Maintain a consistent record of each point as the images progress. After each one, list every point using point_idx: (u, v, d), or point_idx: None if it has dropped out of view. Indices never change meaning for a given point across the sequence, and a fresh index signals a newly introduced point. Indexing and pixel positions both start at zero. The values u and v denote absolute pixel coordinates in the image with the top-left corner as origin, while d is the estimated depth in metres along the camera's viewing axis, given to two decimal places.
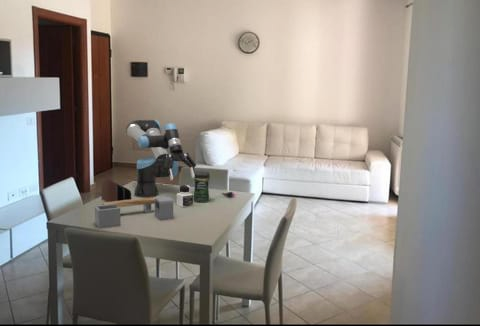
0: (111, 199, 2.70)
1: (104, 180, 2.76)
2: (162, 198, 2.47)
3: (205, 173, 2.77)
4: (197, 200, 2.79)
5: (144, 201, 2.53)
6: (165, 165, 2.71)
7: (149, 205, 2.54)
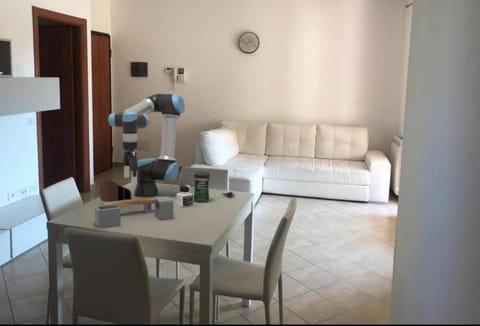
0: (111, 199, 2.70)
1: (103, 180, 2.75)
2: (162, 198, 2.47)
3: (205, 173, 2.77)
4: (197, 200, 2.79)
5: (144, 201, 2.53)
6: (123, 161, 2.55)
7: (149, 205, 2.54)
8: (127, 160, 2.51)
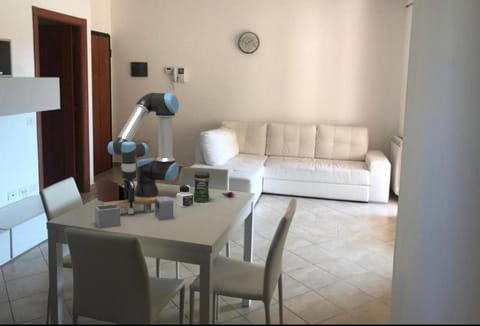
0: (111, 199, 2.70)
1: (101, 181, 2.74)
2: (162, 198, 2.47)
3: (205, 173, 2.77)
4: (197, 200, 2.79)
5: (144, 201, 2.53)
6: (124, 194, 2.55)
7: (149, 205, 2.54)
8: (128, 191, 2.52)
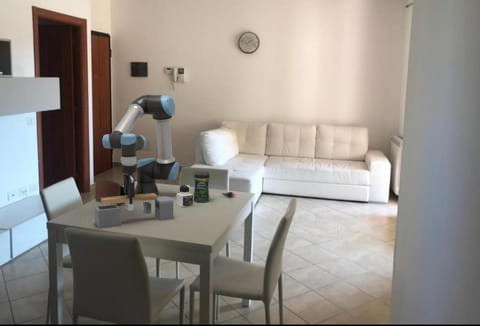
0: None
1: (100, 181, 2.72)
2: (162, 198, 2.47)
3: (205, 173, 2.77)
4: (197, 200, 2.79)
5: (145, 197, 2.39)
6: (124, 190, 2.41)
7: (149, 205, 2.54)
8: (127, 187, 2.38)
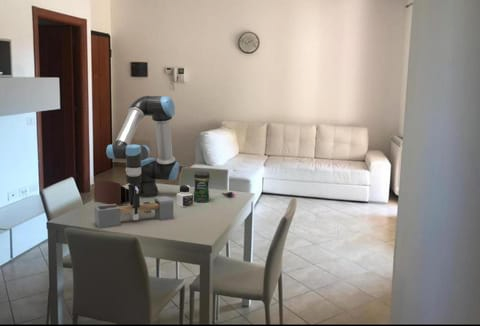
0: (111, 200, 2.69)
1: (99, 182, 2.71)
2: (162, 198, 2.47)
3: (205, 173, 2.77)
4: (197, 200, 2.79)
5: (149, 207, 2.41)
6: (129, 199, 2.43)
7: None
8: (132, 197, 2.40)
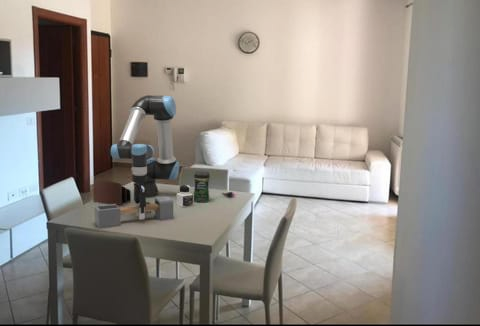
0: (112, 200, 2.69)
1: (98, 182, 2.71)
2: (162, 198, 2.47)
3: (205, 173, 2.77)
4: (197, 200, 2.79)
5: (155, 207, 2.43)
6: (134, 198, 2.45)
7: None
8: (138, 195, 2.42)
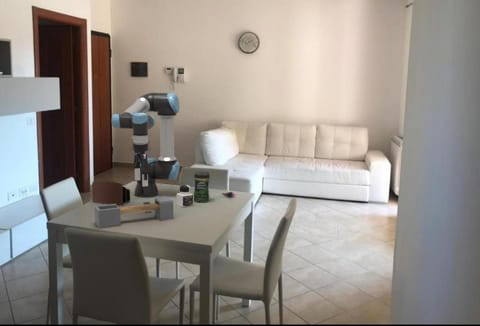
0: (112, 200, 2.68)
1: (98, 182, 2.69)
2: (162, 198, 2.47)
3: (205, 173, 2.77)
4: (197, 200, 2.79)
5: (155, 207, 2.43)
6: (133, 163, 2.47)
7: None
8: (138, 162, 2.43)
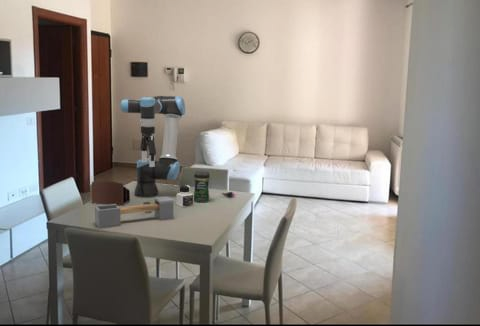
0: (112, 200, 2.68)
1: (97, 183, 2.68)
2: (162, 198, 2.47)
3: (205, 173, 2.77)
4: (197, 200, 2.79)
5: (155, 207, 2.43)
6: None
7: None
8: (145, 145, 2.56)
